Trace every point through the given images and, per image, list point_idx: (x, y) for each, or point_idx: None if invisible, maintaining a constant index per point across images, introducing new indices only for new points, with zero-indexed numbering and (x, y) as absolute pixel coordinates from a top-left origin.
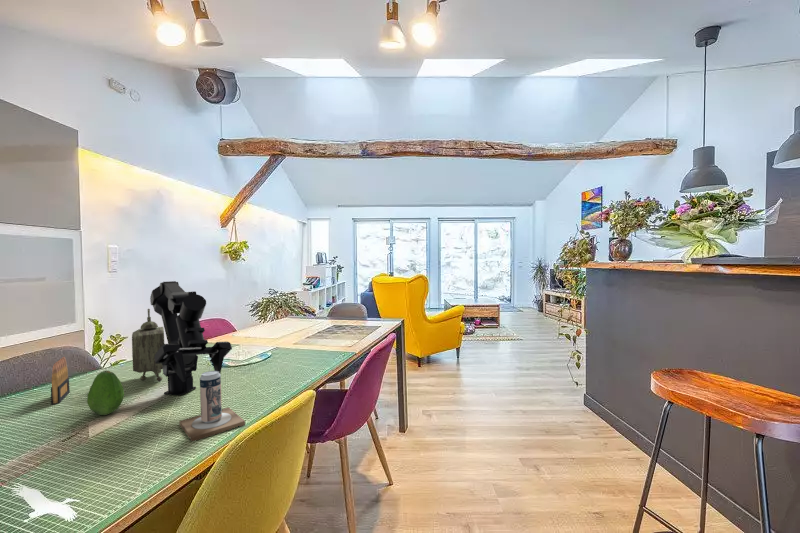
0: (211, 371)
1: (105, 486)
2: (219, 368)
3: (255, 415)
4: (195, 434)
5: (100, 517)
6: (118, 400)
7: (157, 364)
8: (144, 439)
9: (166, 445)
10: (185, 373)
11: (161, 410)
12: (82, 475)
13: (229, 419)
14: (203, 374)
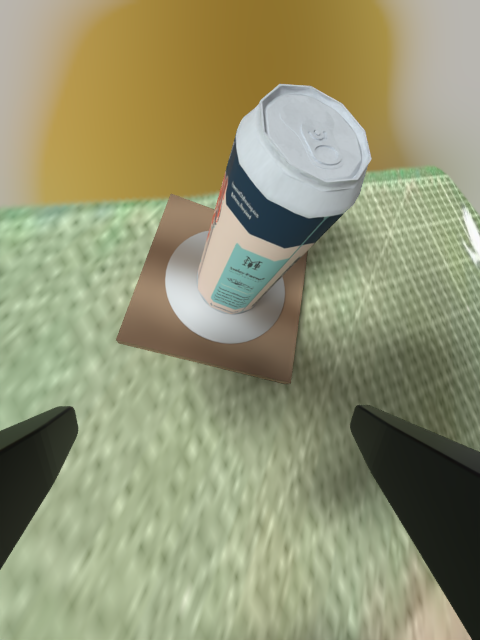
0: (285, 165)
1: (439, 244)
2: (6, 441)
3: (99, 222)
4: None
5: (443, 182)
6: None
7: None
8: (372, 373)
9: (345, 288)
10: (392, 423)
11: (272, 635)
12: (466, 315)
13: (194, 237)
14: (353, 164)
